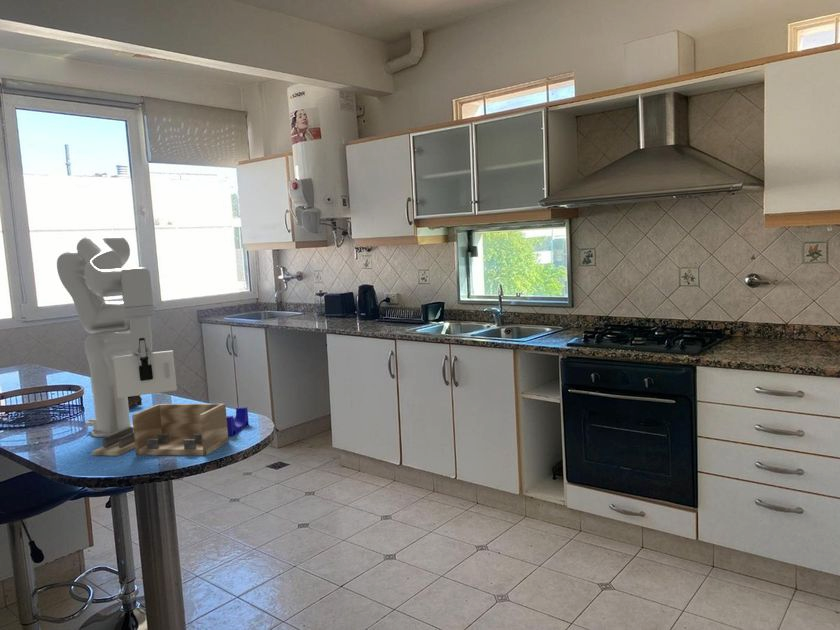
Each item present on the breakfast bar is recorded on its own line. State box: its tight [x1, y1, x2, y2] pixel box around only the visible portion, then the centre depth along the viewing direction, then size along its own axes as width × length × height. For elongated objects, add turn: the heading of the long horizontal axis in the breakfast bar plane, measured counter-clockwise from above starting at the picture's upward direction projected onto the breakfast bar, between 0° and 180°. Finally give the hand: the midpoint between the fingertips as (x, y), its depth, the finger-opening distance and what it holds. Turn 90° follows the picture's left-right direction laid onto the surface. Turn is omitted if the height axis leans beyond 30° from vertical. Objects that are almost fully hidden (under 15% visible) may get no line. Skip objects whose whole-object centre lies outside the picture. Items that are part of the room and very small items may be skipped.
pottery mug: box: [128, 395, 143, 407], centre depth 229 cm, size 12×9×8 cm
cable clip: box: [226, 406, 250, 437], centre depth 191 cm, size 12×4×6 cm, turn 172°
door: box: [113, 350, 178, 398], centre depth 174 cm, size 15×4×11 cm, turn 113°
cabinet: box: [131, 403, 229, 456], centre depth 175 cm, size 21×12×11 cm, turn 79°
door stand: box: [92, 427, 135, 457], centre depth 181 cm, size 8×18×4 cm, turn 169°
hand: (146, 378), depth 175 cm, fingers closed on door, 3 cm apart
